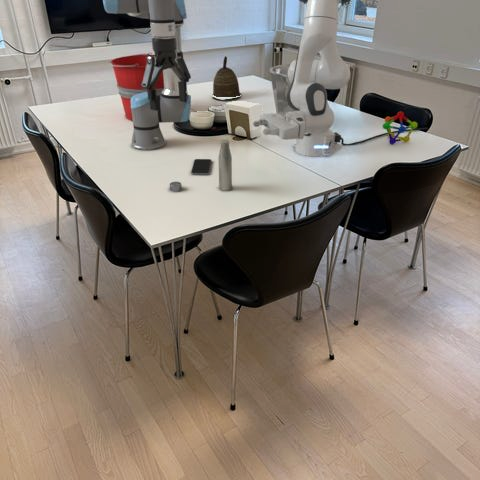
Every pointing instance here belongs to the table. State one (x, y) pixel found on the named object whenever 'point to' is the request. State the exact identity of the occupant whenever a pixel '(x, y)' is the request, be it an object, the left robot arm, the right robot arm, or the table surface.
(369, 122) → the table surface
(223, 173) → the bottle
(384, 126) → the educational toy
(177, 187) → the cap
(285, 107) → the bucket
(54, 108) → the table surface
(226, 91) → the bell
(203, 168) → the smartphone
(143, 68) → the bucket
